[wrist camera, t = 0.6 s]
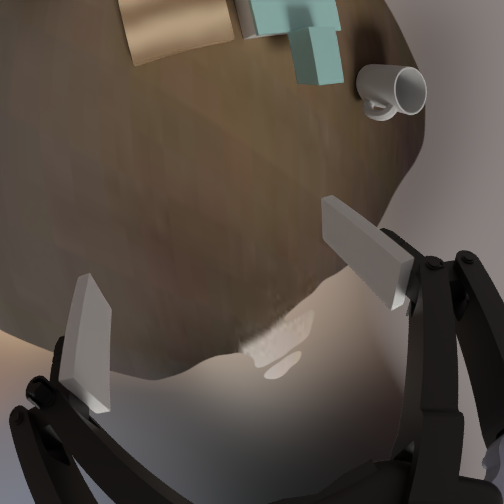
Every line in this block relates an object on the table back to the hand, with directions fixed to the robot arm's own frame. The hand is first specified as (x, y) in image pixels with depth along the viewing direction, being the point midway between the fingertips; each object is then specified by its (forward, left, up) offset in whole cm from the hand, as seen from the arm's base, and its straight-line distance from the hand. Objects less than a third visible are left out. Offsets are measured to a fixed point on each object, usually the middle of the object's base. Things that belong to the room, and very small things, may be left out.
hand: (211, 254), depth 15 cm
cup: (-3, +31, -26) cm, 41 cm away
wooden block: (-20, +4, -26) cm, 32 cm away
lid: (-16, +17, -20) cm, 31 cm away
